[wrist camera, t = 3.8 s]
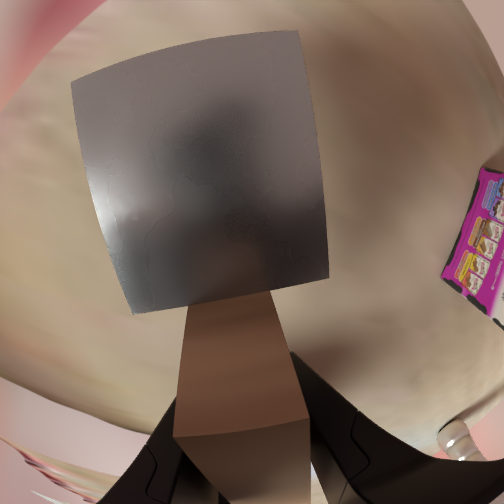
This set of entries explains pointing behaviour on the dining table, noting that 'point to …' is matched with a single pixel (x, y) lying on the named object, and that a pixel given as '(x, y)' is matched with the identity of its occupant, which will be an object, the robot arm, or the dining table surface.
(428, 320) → the dining table surface
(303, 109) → the turner
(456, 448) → the plastic bottle
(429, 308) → the dining table surface
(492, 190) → the candy bar box
